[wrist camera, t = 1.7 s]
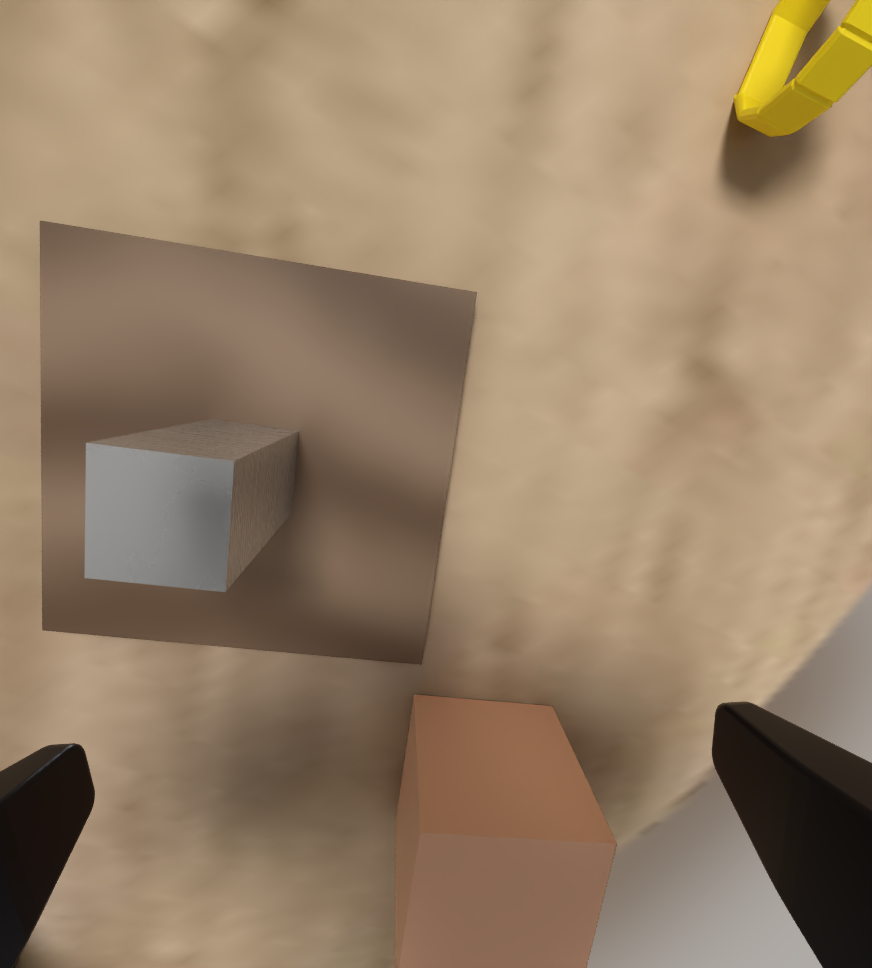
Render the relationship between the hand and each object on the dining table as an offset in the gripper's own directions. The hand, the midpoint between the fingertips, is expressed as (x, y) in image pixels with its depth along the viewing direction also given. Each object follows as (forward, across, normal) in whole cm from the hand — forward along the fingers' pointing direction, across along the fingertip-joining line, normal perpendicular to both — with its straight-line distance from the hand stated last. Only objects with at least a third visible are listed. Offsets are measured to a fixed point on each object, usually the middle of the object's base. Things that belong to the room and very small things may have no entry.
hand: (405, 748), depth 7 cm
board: (+12, +6, -2) cm, 14 cm away
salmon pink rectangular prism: (+12, -2, +12) cm, 17 cm away
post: (+12, +6, -2) cm, 13 cm away
